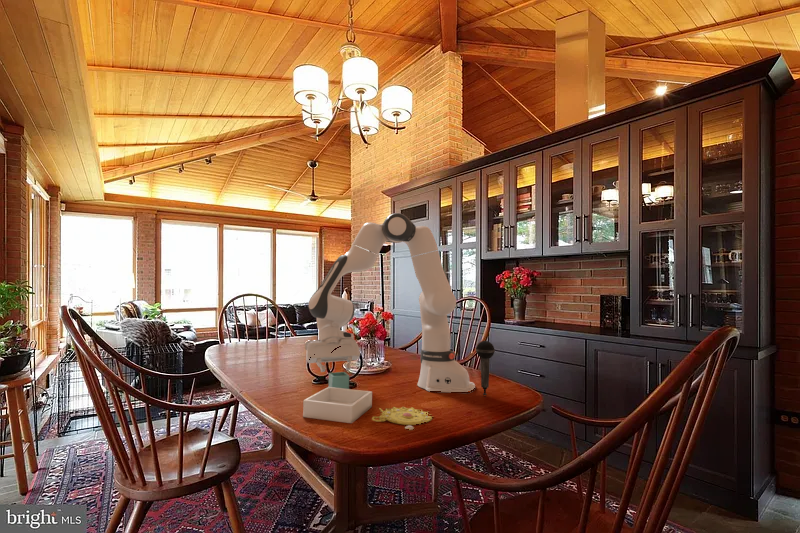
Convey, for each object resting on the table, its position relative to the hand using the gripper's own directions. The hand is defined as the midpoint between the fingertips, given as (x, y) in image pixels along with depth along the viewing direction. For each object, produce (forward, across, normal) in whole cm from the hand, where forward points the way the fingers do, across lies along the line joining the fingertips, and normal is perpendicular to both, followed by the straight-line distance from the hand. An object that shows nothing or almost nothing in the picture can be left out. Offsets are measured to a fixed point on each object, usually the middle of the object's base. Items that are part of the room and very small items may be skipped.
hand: (336, 370), depth 149 cm
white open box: (+21, -4, -10) cm, 23 cm away
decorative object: (+29, +13, -17) cm, 36 cm away
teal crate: (+9, 0, +3) cm, 9 cm away
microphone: (+22, +50, -10) cm, 55 cm away
